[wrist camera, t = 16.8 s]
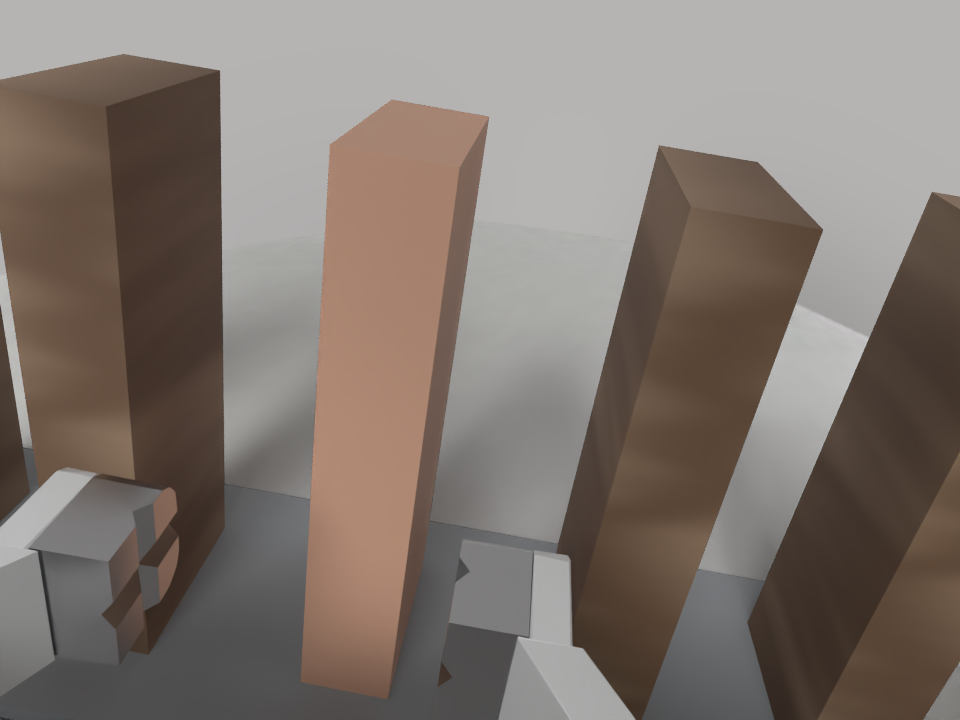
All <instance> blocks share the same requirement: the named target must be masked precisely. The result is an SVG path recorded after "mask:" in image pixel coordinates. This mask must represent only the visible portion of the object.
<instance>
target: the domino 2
mask: <svg viewBox="0 0 960 720" xmlns="http://www.w3.org/2000/svg"><path fill="white" fill-rule="evenodd" d="M220 128H221V126H220V71H219V70H213V69H208V68H201V67H195V66H189V65H183V64H178V63H172V62H167V61H161V60H155V59H149V58H142V57H137V56H131V55H125V54H122V55H117V56H112V57H108V58H103V59H98V60H93V61H88V62H83V63H79V64H74V65H69V66H64V67H60V68H55V69H50V70H46V71H40V72H35V73H31V74H26V75H21V76H17V77H12V78H7V79H2V80H0V233H1V240H2V246H3V253H4V260H5V266H6V273H7V279H8V286H9V293H10V299H11V306H12V313H13V319H14V326H15V332H16V339H17V346H18V352H19V359H20V366H21V372H22V379H23V385H24V392H25V399H26V405H27V412H28V418H29V425H30V432H31V438H32V445H33V452H34V458H35V465H36V471H37V478H38V485H39V488H40V487H41V486H42V485H43V484H44V483H45V482H46V481H47V480H48V479H49V478H50V477H51V476H52V475H53V474H54V473H55V472H56V471H58V470H61V469H64V468H67V467H69V468H74V469H79V470H84V471H89V472H94V473H98V474H107V475H112V476H117V477H122V478H127V479H132V480H137V481H142V482H147V483H152V484H157V485H162V486H167V487H170V488H171V489H173V490H174V491H175V492H176V502H177V512H176V514H175V515H174V516H173V518H172V519H171V521H170V522H169V524H170V526H171V527H172V528H173V529H174V531H175V532H176V533H177V534H178V536H179V553H178V560H177V567H176V569H175V572H174V575H173V578H172V581H171V583H170V586H169V588H168V590H167V591H166V593H165V595H164V596H163V598H162V600H161V601H160V602H159V603H158V604H156V605H154V606H152V607H150V608H149V609H147V610H145V611H143V617H144V628H143V630H142V632H141V633H140V635H139V636H138V638H137V639H136V641H135V643H134V644H133V646H132V647H131V649H130V650H129V651H131V652H137V653H142V654H147V655H149V653H150V652H151V650H152V648H153V647H154V645H155V643H156V642H157V640H158V638H159V637H160V635H161V633H162V632H163V630H164V628H165V627H166V625H167V623H168V622H169V620H170V618H171V617H172V615H173V613H174V612H175V610H176V608H177V607H178V605H179V603H180V602H181V600H182V598H183V597H184V595H185V593H186V592H187V590H188V588H189V587H190V585H191V583H192V582H193V580H194V578H195V577H196V575H197V573H198V572H199V570H200V568H201V567H202V565H203V563H204V562H205V560H206V558H207V557H208V555H209V553H210V552H211V550H212V548H213V547H214V545H215V543H216V542H217V540H218V538H219V537H220V535H221V533H222V532H223V530H224V528H225V497H224V404H223V312H222V228H221V227H222V221H221V220H222V219H221V129H220Z"/></svg>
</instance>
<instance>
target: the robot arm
mask: <svg viewBox="0 0 960 720" xmlns="http://www.w3.org/2000/svg"><path fill="white" fill-rule="evenodd" d="M176 512H177V502H176V492H175V491H174V490H173V489H171V488H170V487H167V486H162V485H157V484H152V483H147V482H142V481H137V480H132V479H127V478H122V477H117V476H112V475H107V474H98V473H94V472H89V471H84V470H79V469H74V468H69V467H67V468H64V469H61V470H58V471H56V472H55V473H54V474H53V475H52V476H51V477H50V478H49V479H48V480H47V481H46V482H45V483H44V484H43V485H42V486H41V487H40V488H39V489H38V490H37V491H36V492H35V493H34V494H33V495H32V496H31V497H30V498H29V499H28V500H27V501H26V502H25V503H24V504H23V505H22V506H21V507H20V508H19V509H18V510H17V511H16V512H15V513H14V514H13V515H12V516H11V517H10V518H9V519H8V520H7V521H6V522H5V523H4V524H3V525H2V526H1V527H0V696H2V695H3V694H5V693H6V692H8V691H9V690H11V689H12V688H14V687H15V686H17V685H18V684H20V683H21V682H23V681H24V680H26V679H27V678H29V677H30V676H32V675H33V674H35V673H36V672H38V671H39V670H41V669H42V668H44V667H45V666H47V665H48V664H50V663H51V662H53V661H55V657H62V658H68V659H75V660H82V661H88V662H95V663H101V664H108V665H115V666H120V665H121V663H122V661H123V660H124V658H125V657H126V655H127V654H128V652H129V650H130V649H131V647H132V646H133V644H134V643H135V641H136V639H137V638H138V636H139V635H140V633H141V632H142V630H143V628H144V617H143V611H145V610H147V609H149V608H150V607H152V606H154V605H156V604H158V603H159V602H160V601H161V600H162V598H163V596H164V595H165V593H166V591H167V590H168V588H169V586H170V583H171V581H172V578H173V575H174V572H175V569H176V567H177V560H178V553H179V536H178V534H177V533H176V532H175V531H174V529H173V528H172V527H171V526H170V524H169V522H170V521H171V519H172V518H173V516H174V515H175V514H176ZM432 720H636V719H635V718H634V716H633V715H632V714H631V712H630V711H629V710H628V708H627V707H626V706H625V704H624V703H623V702H622V700H621V699H620V698H619V696H618V695H617V693H616V692H615V691H614V689H613V688H612V687H611V685H610V684H609V683H608V681H607V680H606V679H605V677H604V676H603V674H602V673H601V672H600V670H599V669H598V668H597V666H596V665H595V664H594V662H593V661H592V660H591V658H590V657H589V656H588V654H587V653H586V651H585V650H584V649H583V648H578V647H573V646H572V597H571V560H570V558H569V557H568V555H562V554H555V553H549V552H543V551H536V550H533V552H532V551H531V550H526V549H520V548H514V547H508V546H502V545H496V544H490V543H484V542H478V541H472V540H467V539H463V540H462V546H461V551H460V557H459V562H458V568H457V574H456V579H455V585H454V590H453V597H452V602H451V608H450V613H449V619H448V625H447V631H446V637H445V643H444V648H443V655H442V661H441V667H440V673H439V679H438V685H437V691H436V698H435V704H434V710H433V716H432Z"/></svg>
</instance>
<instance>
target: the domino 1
mask: <svg viewBox="0 0 960 720" xmlns="http://www.w3.org/2000/svg"><path fill="white" fill-rule="evenodd" d="M29 493H30V490H29V483H28V477H27V471H26V464H25V458H24V452H23V445H22V439H21V433H20V426H19V420H18V414H17V408H16V401H15V395H14V389H13V382H12V376H11V370H10V363H9V357H8V351H7V344H6V338H5V332H4V326H3V319H2V313H1V307H0V522H1V521H2V520H3V519H4V518H5V517H6V516H7V515H8V514H9V513H10V512H11V511H12V510H13V509H14V508H15V507H16V506H17V505H18V504H19V503H20V502H21V501H22V500H23V499H24V498H25V497H26V496H27V495H28V494H29Z"/></svg>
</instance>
